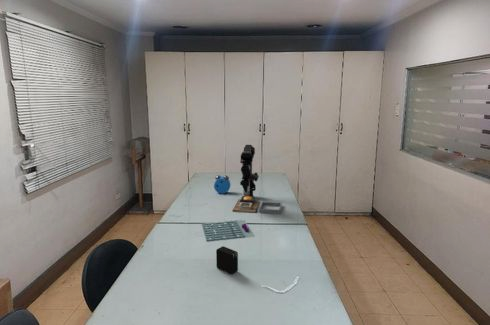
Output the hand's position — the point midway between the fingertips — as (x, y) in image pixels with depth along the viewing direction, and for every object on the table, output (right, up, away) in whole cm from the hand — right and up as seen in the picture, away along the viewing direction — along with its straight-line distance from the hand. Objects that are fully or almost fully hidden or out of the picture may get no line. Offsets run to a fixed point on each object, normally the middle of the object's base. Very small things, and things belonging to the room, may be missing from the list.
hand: (246, 191), depth 234 cm
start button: (+1, -8, +13) cm, 16 cm away
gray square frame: (+17, -13, +2) cm, 22 cm away
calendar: (-12, -21, -32) cm, 41 cm away
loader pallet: (0, -12, +8) cm, 14 cm away
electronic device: (-10, -30, -78) cm, 84 cm away
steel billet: (0, -2, +1) cm, 2 cm away
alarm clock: (-20, -5, +40) cm, 45 cm away
